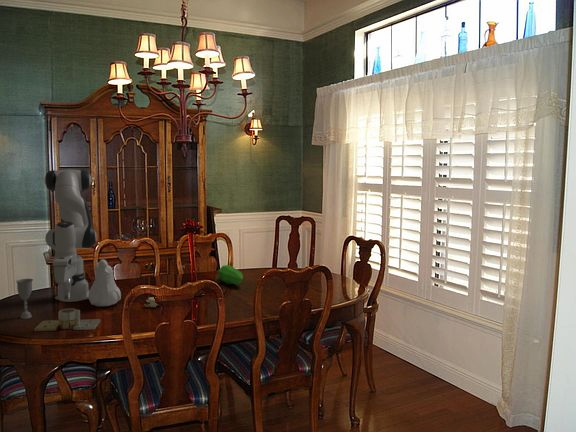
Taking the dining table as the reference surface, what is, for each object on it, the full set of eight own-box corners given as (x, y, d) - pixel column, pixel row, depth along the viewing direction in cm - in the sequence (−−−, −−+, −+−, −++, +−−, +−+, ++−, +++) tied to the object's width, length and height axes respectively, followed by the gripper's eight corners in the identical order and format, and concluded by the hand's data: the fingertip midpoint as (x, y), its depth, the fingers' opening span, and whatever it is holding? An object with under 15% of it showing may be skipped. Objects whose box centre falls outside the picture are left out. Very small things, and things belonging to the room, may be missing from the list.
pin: (65, 297, 226) (64, 276, 225) (71, 297, 227) (71, 276, 226) (62, 299, 223) (62, 277, 222) (69, 299, 224) (69, 277, 223)
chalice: (30, 313, 244) (29, 277, 242) (37, 316, 239) (35, 280, 237) (15, 317, 238) (13, 280, 236) (21, 320, 234) (19, 283, 232)
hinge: (43, 323, 230) (42, 307, 229) (100, 321, 234) (99, 306, 233) (34, 331, 219) (33, 315, 219) (94, 329, 223) (93, 313, 222)
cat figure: (187, 302, 273) (142, 304, 260) (188, 286, 272) (143, 288, 260) (193, 306, 264) (146, 309, 252) (195, 290, 264) (148, 292, 251)
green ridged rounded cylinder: (225, 260, 321) (246, 267, 295) (232, 275, 324) (253, 283, 299) (210, 268, 316) (231, 276, 290) (217, 283, 319) (238, 293, 293)
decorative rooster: (121, 308, 254) (120, 261, 252) (88, 311, 249) (86, 262, 246) (120, 295, 278) (119, 252, 275) (90, 298, 273) (89, 253, 270)
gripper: (65, 253, 233) (66, 282, 234) (51, 262, 213) (52, 294, 214) (79, 253, 234) (80, 282, 235) (66, 262, 213) (67, 293, 215)
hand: (67, 288), depth 224 cm, fingers closed on pin, 3 cm apart
